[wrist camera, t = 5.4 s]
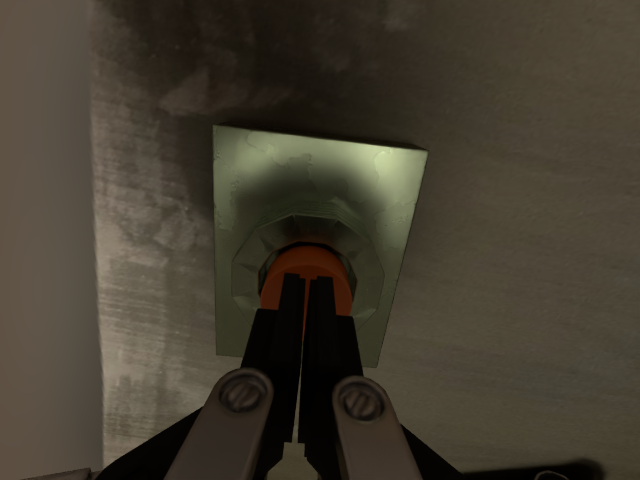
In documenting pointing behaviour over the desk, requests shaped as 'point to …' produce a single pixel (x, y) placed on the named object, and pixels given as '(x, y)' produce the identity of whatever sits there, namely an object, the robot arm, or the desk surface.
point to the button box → (309, 219)
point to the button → (307, 276)
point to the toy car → (548, 476)
